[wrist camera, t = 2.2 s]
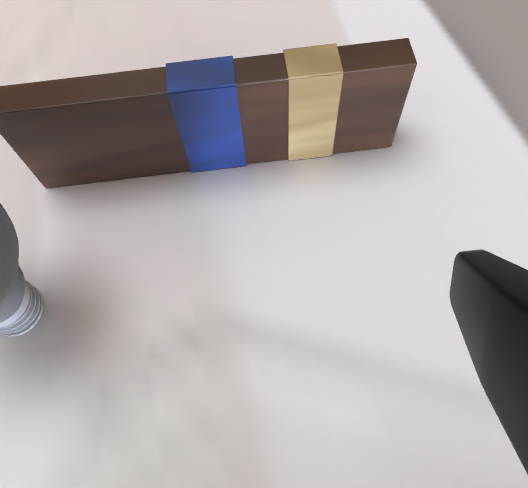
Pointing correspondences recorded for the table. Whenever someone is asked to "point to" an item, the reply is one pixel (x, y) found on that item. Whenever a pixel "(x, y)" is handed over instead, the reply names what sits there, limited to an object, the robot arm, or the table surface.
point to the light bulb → (15, 286)
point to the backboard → (209, 113)
